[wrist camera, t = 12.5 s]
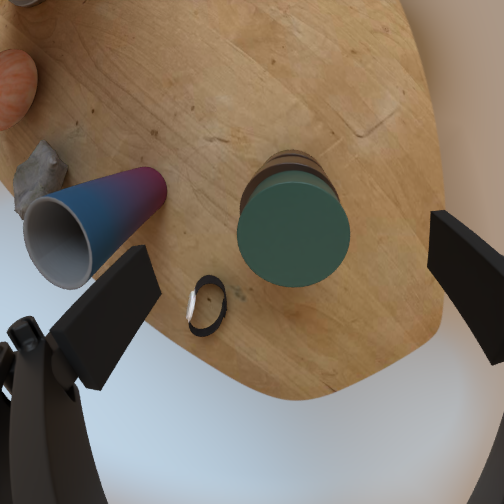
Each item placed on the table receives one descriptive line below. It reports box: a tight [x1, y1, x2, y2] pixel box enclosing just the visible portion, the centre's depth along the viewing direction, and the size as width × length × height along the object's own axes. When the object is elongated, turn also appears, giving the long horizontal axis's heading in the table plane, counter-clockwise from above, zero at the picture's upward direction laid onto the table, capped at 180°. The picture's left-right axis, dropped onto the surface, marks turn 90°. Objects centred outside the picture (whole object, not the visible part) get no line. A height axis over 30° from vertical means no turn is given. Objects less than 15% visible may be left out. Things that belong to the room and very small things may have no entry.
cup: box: [23, 167, 167, 290], centre depth 24 cm, size 7×7×15 cm
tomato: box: [0, 49, 38, 131], centre depth 22 cm, size 11×11×8 cm
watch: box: [186, 275, 227, 337], centre depth 34 cm, size 8×5×4 cm, turn 164°
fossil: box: [13, 140, 68, 220], centre depth 27 cm, size 11×9×8 cm
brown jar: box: [240, 150, 340, 216], centre depth 24 cm, size 7×7×10 cm
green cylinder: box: [237, 171, 350, 287], centre depth 17 cm, size 6×6×4 cm
